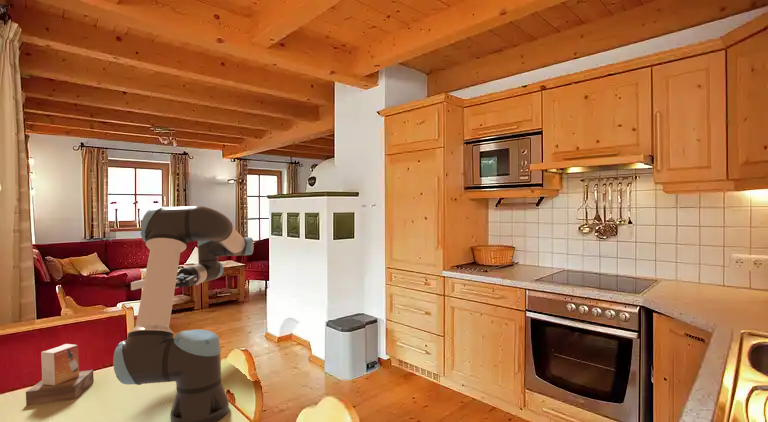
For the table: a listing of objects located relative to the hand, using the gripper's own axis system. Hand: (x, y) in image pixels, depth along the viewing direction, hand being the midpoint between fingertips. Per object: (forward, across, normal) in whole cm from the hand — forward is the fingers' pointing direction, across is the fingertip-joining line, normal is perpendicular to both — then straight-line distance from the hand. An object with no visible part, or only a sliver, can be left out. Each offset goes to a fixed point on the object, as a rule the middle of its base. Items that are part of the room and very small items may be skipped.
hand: (147, 286), depth 142 cm
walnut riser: (+15, +20, -32) cm, 41 cm away
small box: (+15, +20, -28) cm, 38 cm away
